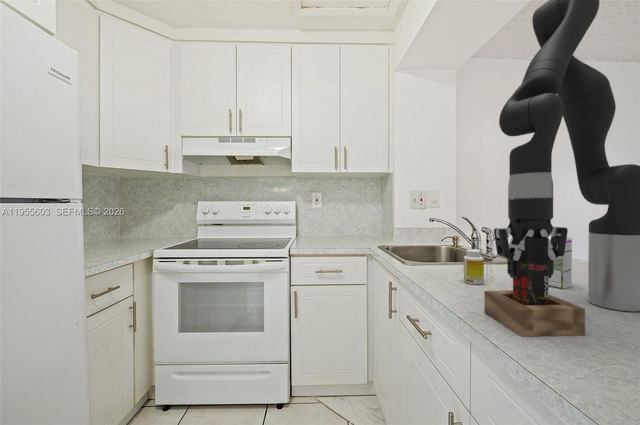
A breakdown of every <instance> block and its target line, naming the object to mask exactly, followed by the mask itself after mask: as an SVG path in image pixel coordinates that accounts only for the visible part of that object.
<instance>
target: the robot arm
mask: <svg viewBox="0 0 640 425" xmlns="http://www.w3.org/2000/svg"><path fill="white" fill-rule="evenodd" d="M599 10H600V0H547V1H546V2H545V3H543V4H542V5H540V6H539V7H538V8H536V9H535V11H534V13H533V14H532V18H531V19H532V28H533V31H534V36H535V37H536V39H537V40H536V41H537V43H538V44H539V48H540V49H539V50H538V51H537V52H536V53H535V55H534V56H533V58H532V59H531V61H529V62H530V63H529V64H528V65H527V66H528V67H527V69H526V71H525V74H524V76H523V79H522V82H521V84H520V85H519V86H518V87H517V89H516V90H515V91H514V92H513V93H512V94H511V96H509V98H508V100H507V101H506V102H505V104H504V105H503V107H502V109H501V111H500V114H499V119H498V120H499V121H498V126H499V128H500V131H501V132H502V133H503V134H504V135H506V136H508V137H519V136H524V135H529V134H533V135H532V137H531V139H530V140H528V142H525V143H523V144H521V145H518V146H516V147H514V148H512V149H511V150H510V152H509V157H508V158H509V161H508V162H509V167H508V168H509V174H508V175H509V179H508V184H507V198H508V200H507V202H508V203H507V204H508V205H507V212H508V213H507V217H508V219H509V224H508V226H507V227H502V228H500V227H499V228H498V227H496V228H494V229H493V236H494V242H495V248H496V254H497V256H498V257H502V258H505V259H506V260H507V269H506V271H507V275H509V278H512V279H513V278H514V279H519V278H520V261H518V260H519V258H520V256H521V252H522V251H524V249H525V245H524V244H525V243H524V238H539V237H540V238H548V237H549V236H550V237H551V241H550V240H549V238H548V278H551V277H552V275H553V273H554V259H555V258H556V257H559V256H560V257H562V256H564V252H565V246H566V239H567V238H568V230H569V229H568V227H563V226H562V227H559V226H553V225H552V221H551V220H552V219H553V218H554V181H553V175H552V174H553V172H552V168H553V167H552V163H553V162H552V159H553V157H552V155H553V154H552V153H553V149H554V144H555V141H556V138H557V134H558V131H559V129H560V126H561V123H562V120H563V121H564V122H565V123H564V124H565V126H566V130H567V133H568V136H569V137H568V138H569V140H570V146H571V148H572V152H573V156H574V157H573V158H574V165H575V169H576V177H577V183H578V187H579V191H580V193H581V195H582V197H583V198H584V199H585V201H586V202H588V203H590V204H593V205H598V206H599V205H600V206H601V205H603V206H607V211H606V213H604V215H602V216H601V217H599V218H596V219H593V220H590V222H589V223H588V280H587V281H588V282H587V283H588V285H587V286H588V289H587V290H588V291H587V292H588V299H587V300H588V302H589V303H590V304H593V305H594V306H599V307H602V308H604V309H605V308H606V309H610V310H616V311H623V312H640V165H639V164H635V163H628V164H620V165H612V166H610V165H609V161H608V158H607V153H606V141H607V136H608V134H609V131H610V128H611V125H612V122H613V121H614V118H615V114H616V109H617V106H616V105H617V104H616V100H615V97H614V93H613V90H612V87H611V83H610V80H609V79H608V77H607V76H606V75H605V74H604V73H603V72H600V70H598V69H597V68H594V67H593V66H590V65H588V64H587V63H586V62H583V61H582V60H580V59H578V58H577V57H575V55H574V53H575V52H576V50H577V48H578V47H579V45H580V43H581V42H582V40H583V39H584V37H585V35H586V33H587V32H588V30H589V28H590V27H591V25H592V23H594V22H593V21H595V19H596V16H597V15H598V12H599ZM510 236H511V239H510V241H509V238H510ZM520 238H523V239H522V240H521V242H520V244H519V245H514V244H513V239H517V240H520ZM557 245H558V247H557ZM514 249H515V251H514Z"/></svg>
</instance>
